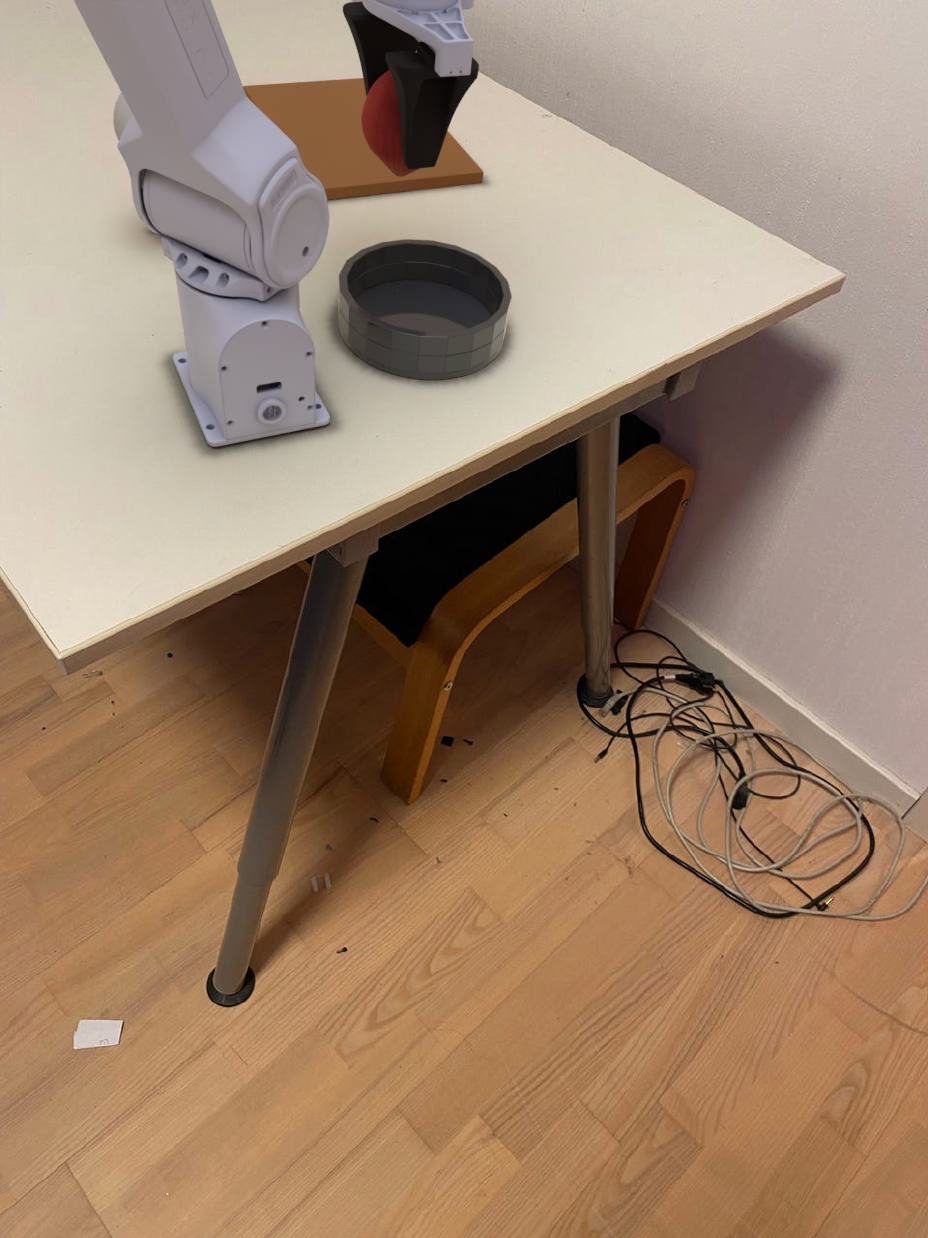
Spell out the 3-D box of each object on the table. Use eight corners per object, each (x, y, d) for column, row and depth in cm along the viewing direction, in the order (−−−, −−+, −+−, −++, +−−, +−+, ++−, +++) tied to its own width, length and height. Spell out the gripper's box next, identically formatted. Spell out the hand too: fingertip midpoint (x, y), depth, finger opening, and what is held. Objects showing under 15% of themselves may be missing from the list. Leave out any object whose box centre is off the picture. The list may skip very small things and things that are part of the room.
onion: (446, 163, 68) (457, 43, 61) (436, 201, 64) (447, 77, 58) (368, 150, 68) (371, 28, 61) (353, 187, 64) (356, 62, 58)
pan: (531, 363, 67) (540, 321, 64) (374, 393, 62) (376, 349, 60) (462, 271, 73) (467, 230, 70) (315, 293, 69) (315, 250, 66)
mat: (482, 182, 82) (483, 171, 82) (311, 201, 77) (311, 189, 76) (398, 85, 93) (399, 74, 92) (243, 96, 88) (242, 85, 87)
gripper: (533, -51, 51) (498, 189, 62) (431, -133, 59) (416, 93, 69) (415, -49, 49) (400, 200, 59) (326, -134, 56) (327, 100, 67)
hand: (402, 143), depth 64 cm, fingers closed on onion, 6 cm apart
